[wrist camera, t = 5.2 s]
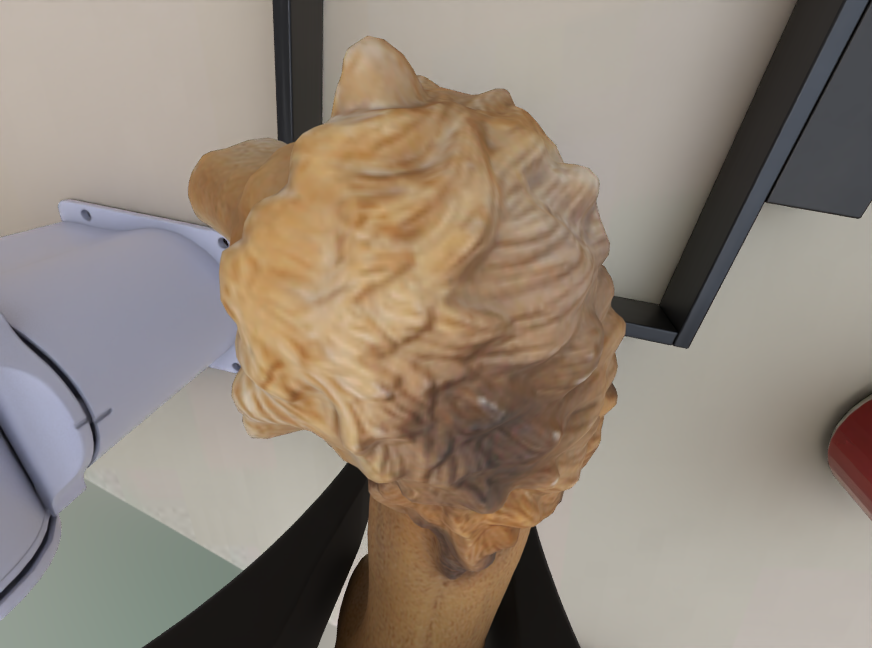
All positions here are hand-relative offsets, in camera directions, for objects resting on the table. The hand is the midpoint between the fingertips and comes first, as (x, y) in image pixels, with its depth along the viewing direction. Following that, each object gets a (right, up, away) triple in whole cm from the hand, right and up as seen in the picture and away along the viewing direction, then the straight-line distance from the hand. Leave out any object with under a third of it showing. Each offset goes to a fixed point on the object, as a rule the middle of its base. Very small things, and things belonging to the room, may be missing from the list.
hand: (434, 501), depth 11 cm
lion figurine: (0, +3, +1) cm, 3 cm away
